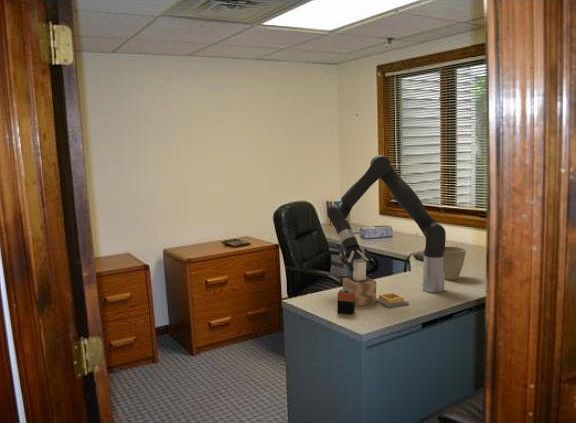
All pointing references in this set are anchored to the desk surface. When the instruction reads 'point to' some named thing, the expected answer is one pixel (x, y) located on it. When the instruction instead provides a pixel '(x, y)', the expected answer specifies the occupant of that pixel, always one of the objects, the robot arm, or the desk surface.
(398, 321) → the desk surface
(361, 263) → the plug
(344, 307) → the battery
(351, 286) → the wood grain square block
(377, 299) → the orange-framed grey plate
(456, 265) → the plant pot
